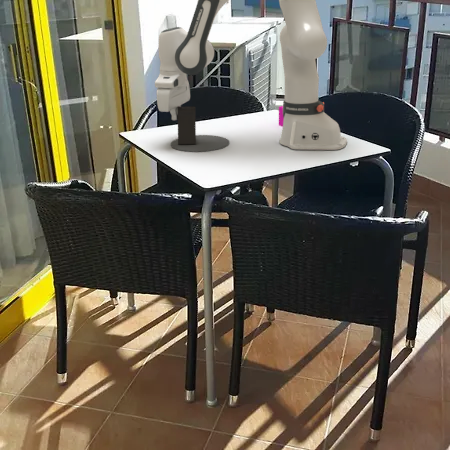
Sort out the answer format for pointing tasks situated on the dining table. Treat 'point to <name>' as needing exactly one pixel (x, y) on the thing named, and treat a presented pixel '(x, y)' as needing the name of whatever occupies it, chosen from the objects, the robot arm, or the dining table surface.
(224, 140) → the mat
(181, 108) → the phone stand
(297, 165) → the dining table surface
